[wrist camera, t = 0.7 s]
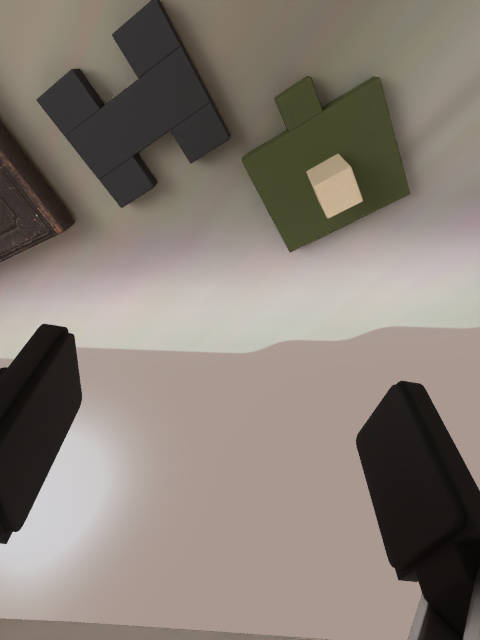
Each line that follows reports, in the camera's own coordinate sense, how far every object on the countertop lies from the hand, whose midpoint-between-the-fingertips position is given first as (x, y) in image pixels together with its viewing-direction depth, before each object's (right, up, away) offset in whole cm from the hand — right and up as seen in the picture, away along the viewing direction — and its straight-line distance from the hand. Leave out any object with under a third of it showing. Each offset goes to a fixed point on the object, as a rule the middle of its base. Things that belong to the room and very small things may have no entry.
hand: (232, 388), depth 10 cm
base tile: (-8, +19, +19) cm, 28 cm away
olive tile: (+7, +16, +21) cm, 27 cm away
